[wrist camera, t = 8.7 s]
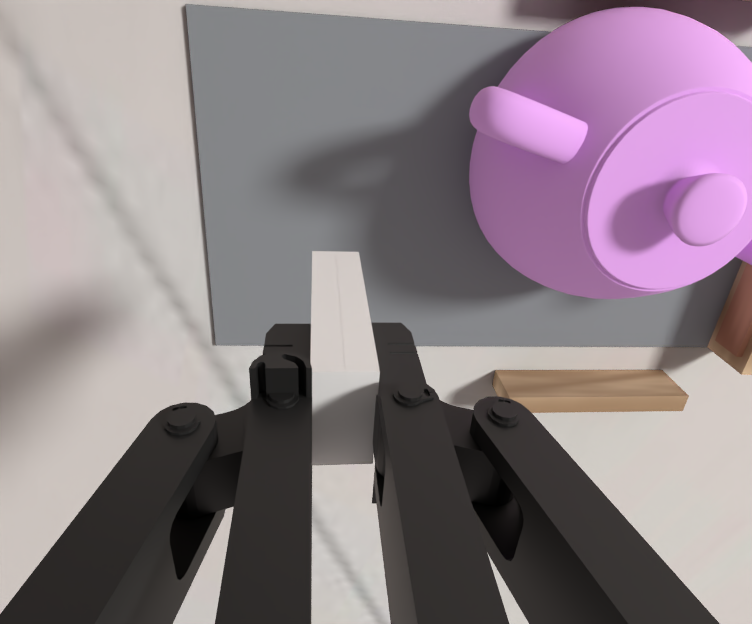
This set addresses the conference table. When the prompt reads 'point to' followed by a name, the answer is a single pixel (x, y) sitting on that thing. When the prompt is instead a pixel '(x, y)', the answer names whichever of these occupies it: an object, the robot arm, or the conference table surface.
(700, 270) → the teapot
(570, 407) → the bay
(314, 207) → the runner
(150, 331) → the conference table surface
